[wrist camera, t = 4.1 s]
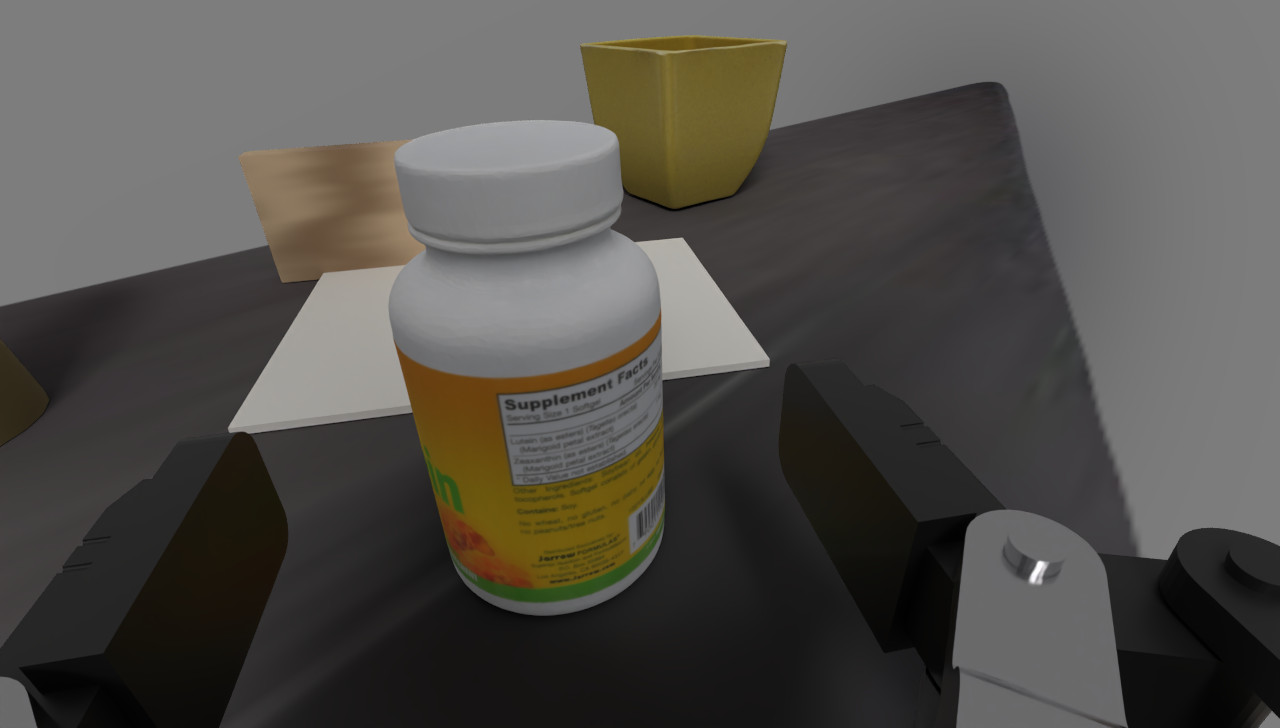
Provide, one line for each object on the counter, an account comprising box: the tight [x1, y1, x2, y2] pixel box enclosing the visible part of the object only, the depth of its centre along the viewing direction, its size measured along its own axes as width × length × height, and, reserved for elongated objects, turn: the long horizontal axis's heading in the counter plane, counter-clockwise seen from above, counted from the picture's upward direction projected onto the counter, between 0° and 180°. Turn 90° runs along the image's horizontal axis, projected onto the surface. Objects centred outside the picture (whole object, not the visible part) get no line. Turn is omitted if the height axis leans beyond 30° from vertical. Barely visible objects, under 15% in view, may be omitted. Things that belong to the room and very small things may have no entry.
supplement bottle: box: [388, 120, 665, 616], centre depth 14 cm, size 5×5×10 cm
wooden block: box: [239, 140, 426, 283], centre depth 31 cm, size 8×1×6 cm, turn 101°
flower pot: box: [580, 35, 787, 209], centre depth 39 cm, size 9×9×9 cm
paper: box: [228, 238, 770, 434], centre depth 27 cm, size 18×13×1 cm
